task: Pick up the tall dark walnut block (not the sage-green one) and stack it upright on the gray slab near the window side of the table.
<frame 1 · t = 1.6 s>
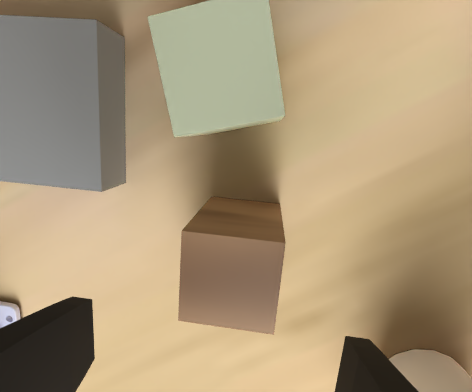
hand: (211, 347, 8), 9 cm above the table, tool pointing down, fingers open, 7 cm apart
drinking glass: (417, 385, 18), on the table
gray slab: (64, 109, 17), on the table
walnut block: (242, 232, 17), on the table
sage block: (236, 90, 16), on the table
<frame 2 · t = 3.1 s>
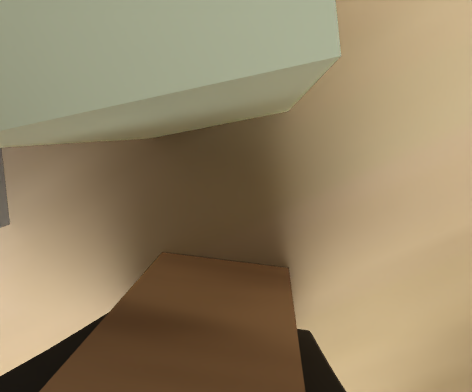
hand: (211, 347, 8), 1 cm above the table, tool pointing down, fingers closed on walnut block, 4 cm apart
walnut block: (219, 315, 9), on the table, touching gripper
sage block: (202, 50, 8), on the table
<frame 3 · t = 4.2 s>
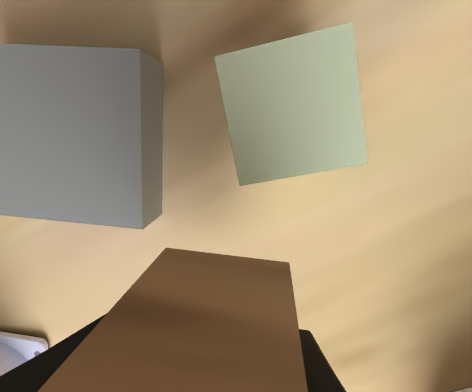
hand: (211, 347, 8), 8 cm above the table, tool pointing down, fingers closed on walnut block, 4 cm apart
gray slab: (96, 137, 16), on the table
walnut block: (222, 309, 10), point 7 cm above the table, touching gripper
sage block: (283, 118, 14), on the table
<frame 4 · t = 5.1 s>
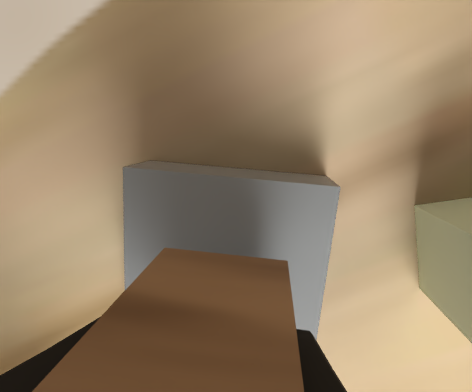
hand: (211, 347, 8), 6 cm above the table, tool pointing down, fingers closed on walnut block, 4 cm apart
gray slab: (231, 247, 14), on the table
walnut block: (221, 308, 10), point 4 cm above the table, touching gripper
sage block: (465, 242, 13), on the table
when the fingers open (5 cm above the table, at t = 5.6 s): walnut block drops 1 cm, resting on gray slab.
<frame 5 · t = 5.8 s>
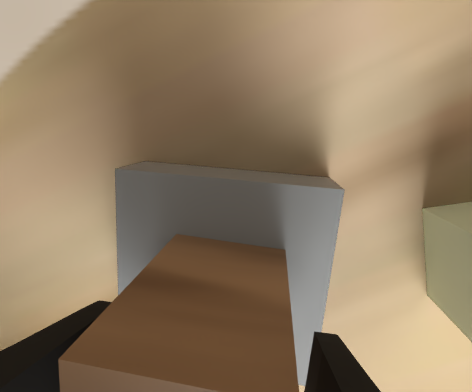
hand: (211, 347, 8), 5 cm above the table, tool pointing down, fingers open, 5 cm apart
gray slab: (229, 250, 14), on the table, touching walnut block
walnut block: (224, 291, 11), point 3 cm above the table, touching gray slab
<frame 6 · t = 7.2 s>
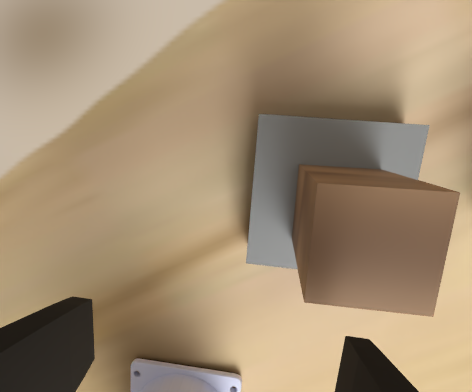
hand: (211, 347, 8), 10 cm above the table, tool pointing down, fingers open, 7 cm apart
gray slab: (319, 189, 18), on the table
walnut block: (334, 205, 15), point 3 cm above the table
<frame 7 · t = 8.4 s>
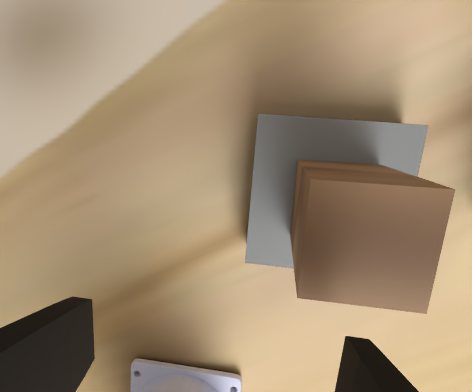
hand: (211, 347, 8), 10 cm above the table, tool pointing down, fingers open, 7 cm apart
gray slab: (319, 189, 18), on the table, touching walnut block
walnut block: (333, 201, 15), point 3 cm above the table, touching gray slab
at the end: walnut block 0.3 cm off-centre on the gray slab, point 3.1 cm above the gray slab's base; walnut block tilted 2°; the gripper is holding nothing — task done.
